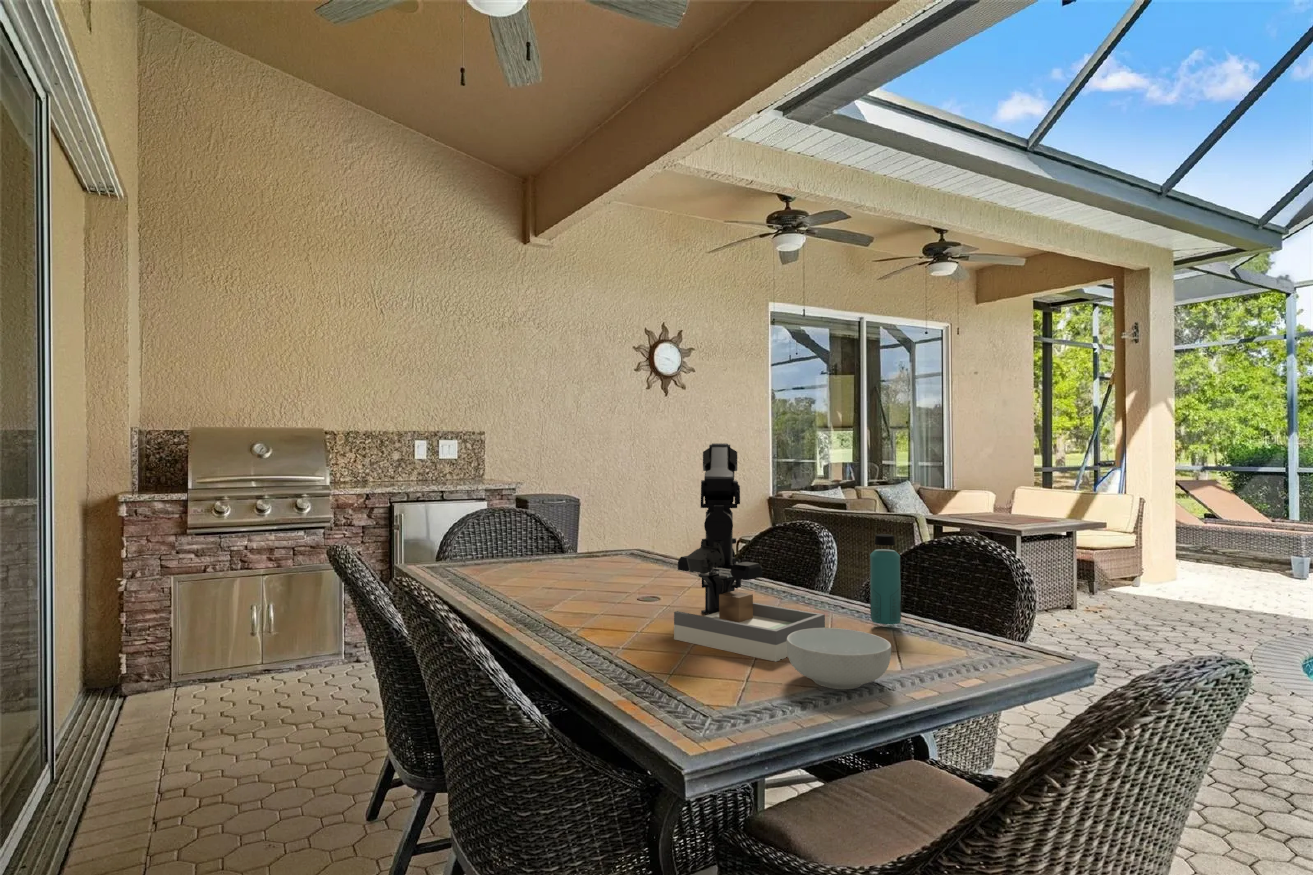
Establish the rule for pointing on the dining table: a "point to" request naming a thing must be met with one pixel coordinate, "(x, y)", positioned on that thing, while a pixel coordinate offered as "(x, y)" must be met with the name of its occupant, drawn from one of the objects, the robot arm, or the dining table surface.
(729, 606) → the walnut block
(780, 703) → the dining table surface
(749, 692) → the dining table surface
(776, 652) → the trap box
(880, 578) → the beverage bottle
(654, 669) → the dining table surface
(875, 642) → the cereal bowl
